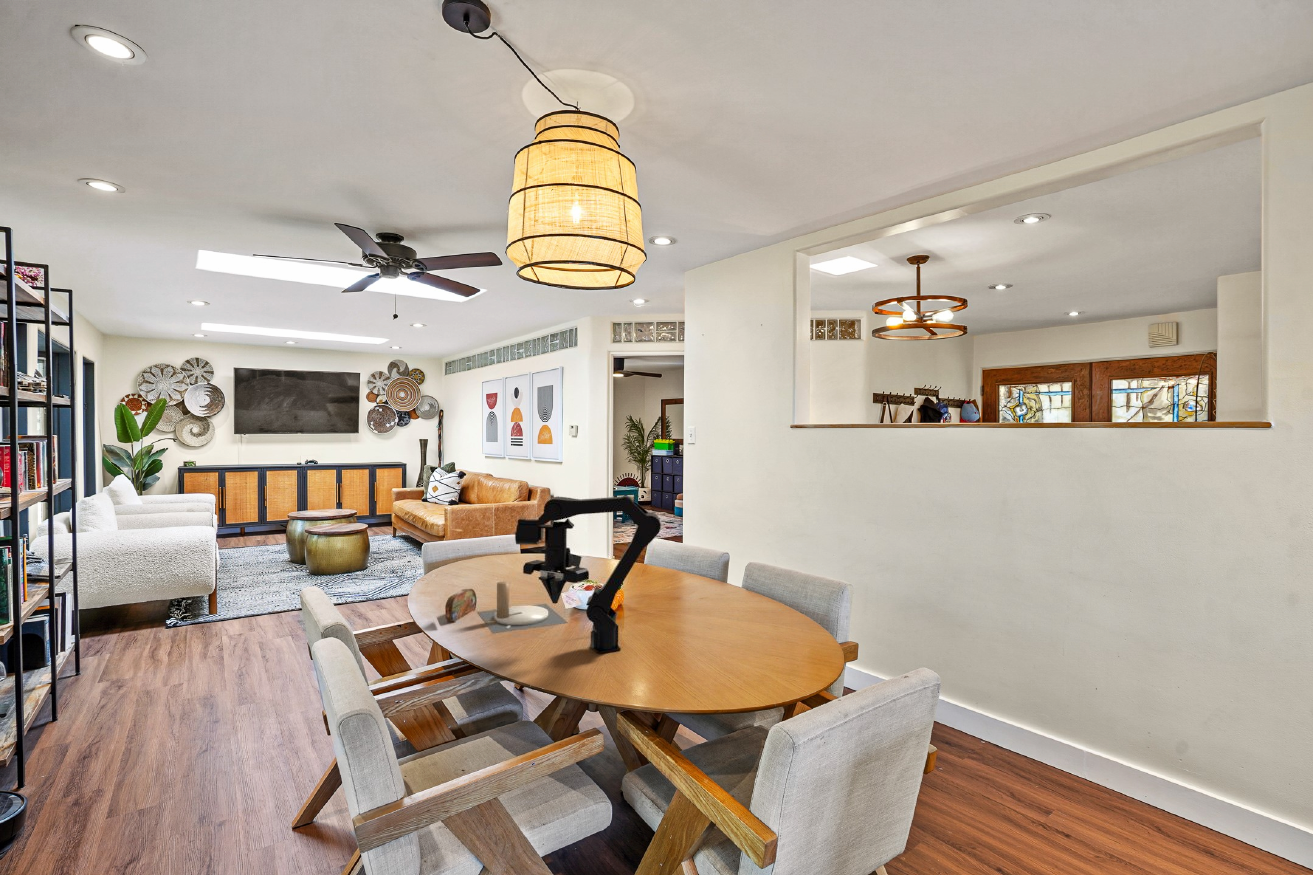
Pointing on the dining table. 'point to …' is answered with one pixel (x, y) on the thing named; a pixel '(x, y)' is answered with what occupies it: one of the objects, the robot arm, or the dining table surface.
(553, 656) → the dining table surface
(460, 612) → the tin
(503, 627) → the dial plate
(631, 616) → the dining table surface
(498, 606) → the dial
